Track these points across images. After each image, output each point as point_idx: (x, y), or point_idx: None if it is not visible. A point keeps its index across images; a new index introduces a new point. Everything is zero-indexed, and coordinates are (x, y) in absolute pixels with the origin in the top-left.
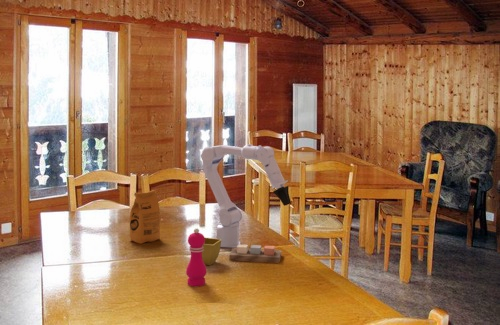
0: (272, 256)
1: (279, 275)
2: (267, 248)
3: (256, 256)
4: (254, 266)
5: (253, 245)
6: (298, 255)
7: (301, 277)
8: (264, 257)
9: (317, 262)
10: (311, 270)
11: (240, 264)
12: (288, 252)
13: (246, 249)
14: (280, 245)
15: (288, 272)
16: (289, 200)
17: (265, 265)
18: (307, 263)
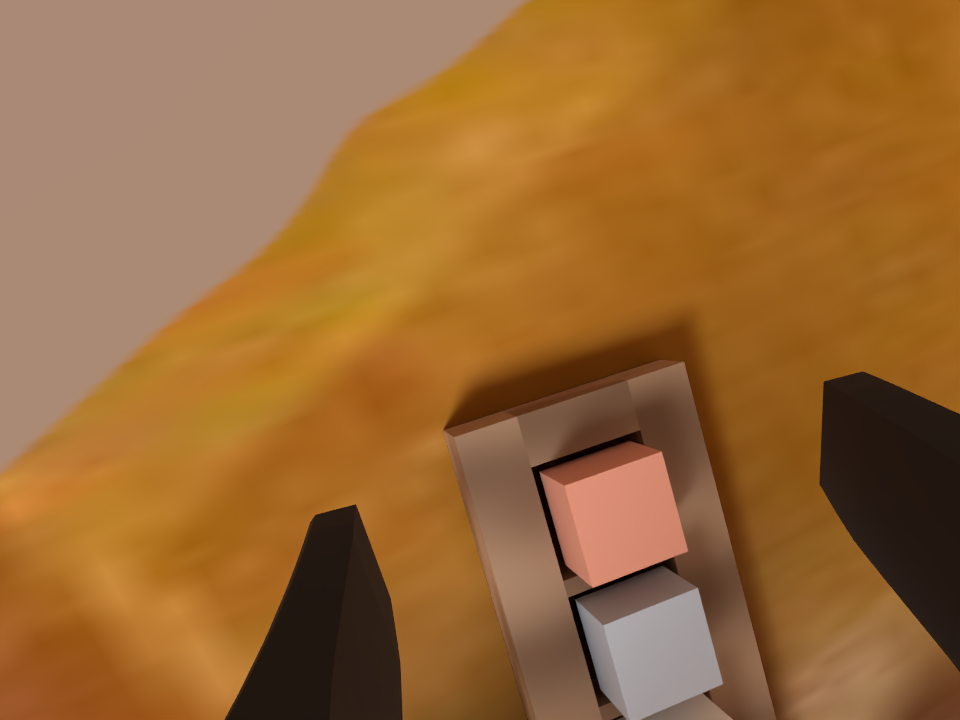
0: (685, 432)
1: (936, 240)
2: (678, 516)
3: (736, 568)
4: (826, 509)
5: (641, 696)
6: (361, 273)
7: (913, 64)
8: (715, 495)
9: (499, 31)
10: (733, 29)
11: (826, 635)
12: (306, 405)
13: (720, 711)
14: (78, 592)
15: (850, 197)
16: (356, 570)
17: (769, 439)
18: (568, 114)
